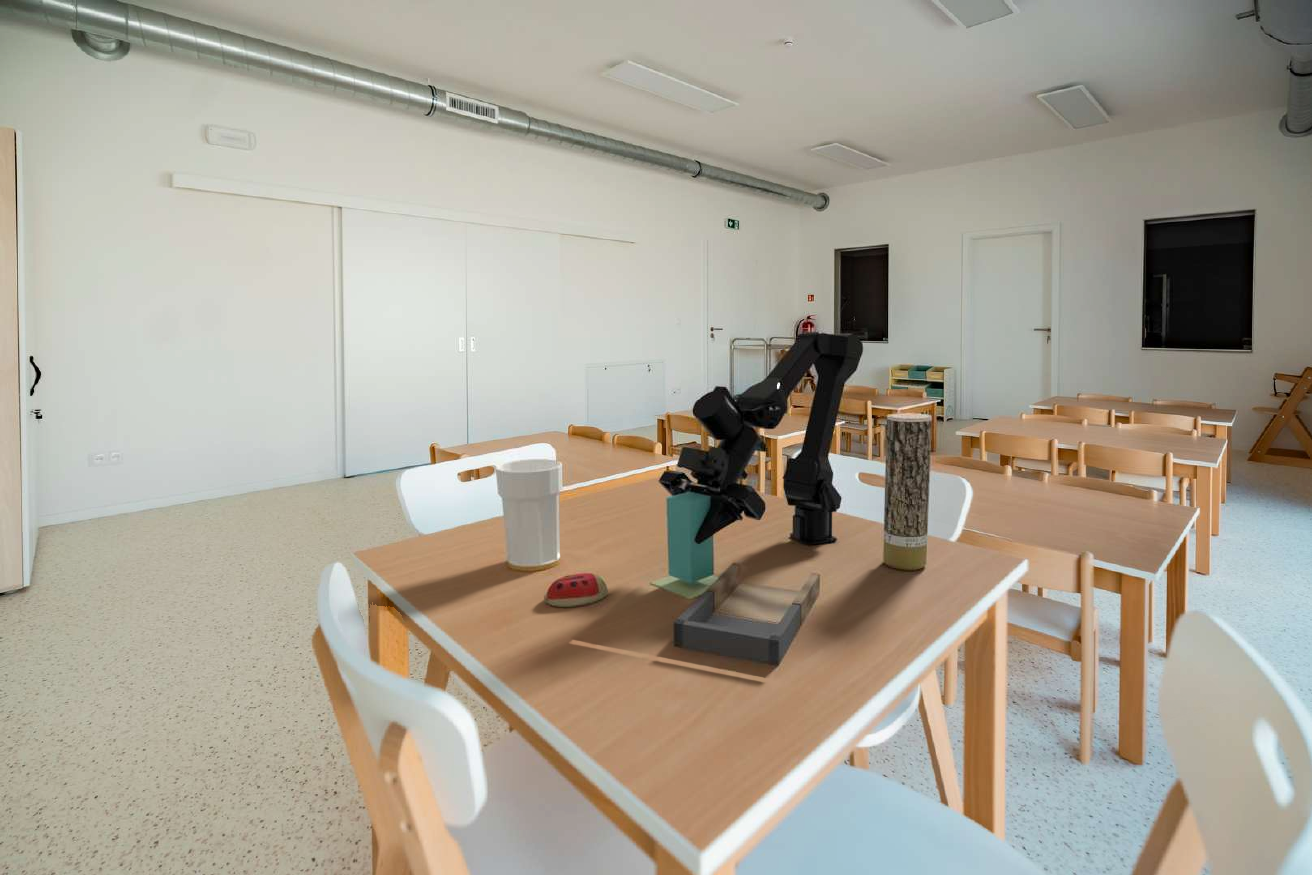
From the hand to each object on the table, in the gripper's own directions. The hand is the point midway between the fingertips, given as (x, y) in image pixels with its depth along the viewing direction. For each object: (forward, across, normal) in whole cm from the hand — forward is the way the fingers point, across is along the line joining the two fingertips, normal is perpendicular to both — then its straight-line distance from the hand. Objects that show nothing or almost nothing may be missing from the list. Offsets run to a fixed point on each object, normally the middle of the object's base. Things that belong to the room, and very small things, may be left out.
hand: (684, 538), depth 104 cm
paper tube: (-17, +19, +29) cm, 39 cm away
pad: (+5, 0, +6) cm, 8 cm away
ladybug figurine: (+16, -9, -4) cm, 19 cm away
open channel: (+3, +13, +8) cm, 16 cm away
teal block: (+3, 0, +5) cm, 6 cm away
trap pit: (+11, +18, 0) cm, 21 cm away
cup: (+13, -28, -2) cm, 30 cm away
